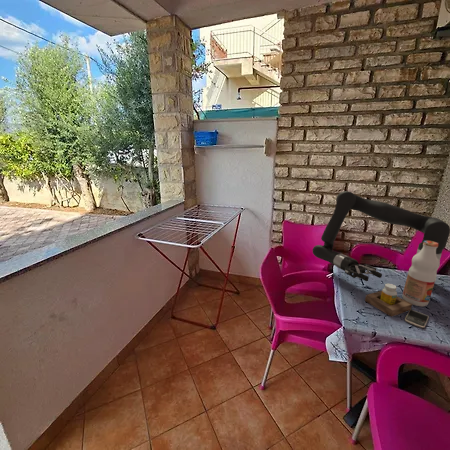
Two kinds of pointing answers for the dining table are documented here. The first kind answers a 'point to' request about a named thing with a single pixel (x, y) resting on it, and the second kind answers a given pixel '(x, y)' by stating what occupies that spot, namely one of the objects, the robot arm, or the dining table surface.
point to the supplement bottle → (389, 294)
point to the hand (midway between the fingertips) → (374, 277)
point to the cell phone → (416, 318)
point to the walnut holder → (390, 310)
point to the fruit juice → (422, 275)
